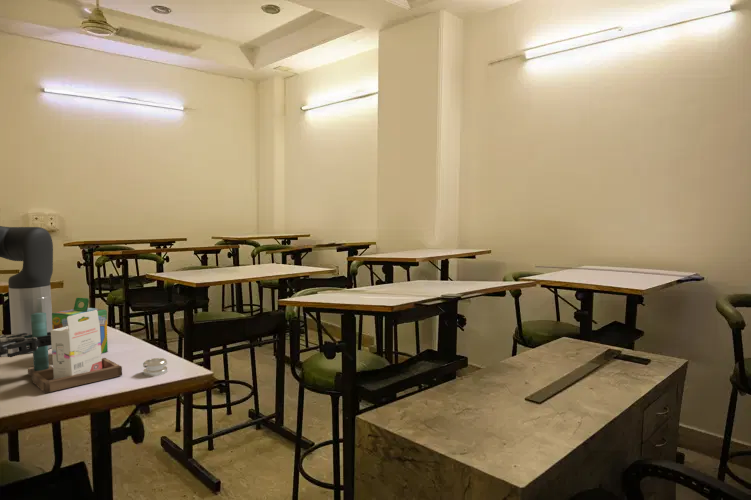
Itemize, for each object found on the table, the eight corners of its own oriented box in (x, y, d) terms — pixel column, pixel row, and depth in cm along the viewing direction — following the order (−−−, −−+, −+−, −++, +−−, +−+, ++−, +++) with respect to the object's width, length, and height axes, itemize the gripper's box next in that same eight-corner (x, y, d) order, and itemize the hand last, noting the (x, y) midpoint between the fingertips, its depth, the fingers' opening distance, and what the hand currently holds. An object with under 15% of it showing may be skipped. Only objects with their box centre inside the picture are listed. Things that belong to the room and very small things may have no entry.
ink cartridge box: (85, 371, 112) (82, 308, 111) (103, 373, 111) (100, 309, 110) (52, 384, 104) (48, 315, 103) (71, 385, 102) (67, 316, 101)
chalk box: (52, 357, 124) (48, 300, 123) (85, 348, 133) (82, 294, 132) (77, 361, 121) (74, 302, 120) (109, 351, 129) (107, 296, 128)
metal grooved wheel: (161, 368, 115) (139, 373, 111) (160, 356, 114) (138, 360, 111) (171, 372, 111) (149, 378, 108) (170, 359, 111) (149, 365, 107)
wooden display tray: (23, 374, 110) (20, 314, 109) (94, 360, 121) (91, 305, 120) (45, 392, 98) (41, 325, 97) (122, 375, 109) (119, 314, 108)
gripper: (-40, 340, 94) (63, 325, 107) (-50, 330, 104) (45, 317, 116) (-37, 378, 95) (64, 359, 107) (-48, 364, 104) (47, 348, 117)
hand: (54, 337), depth 112 cm, fingers closed on wooden display tray, 3 cm apart
